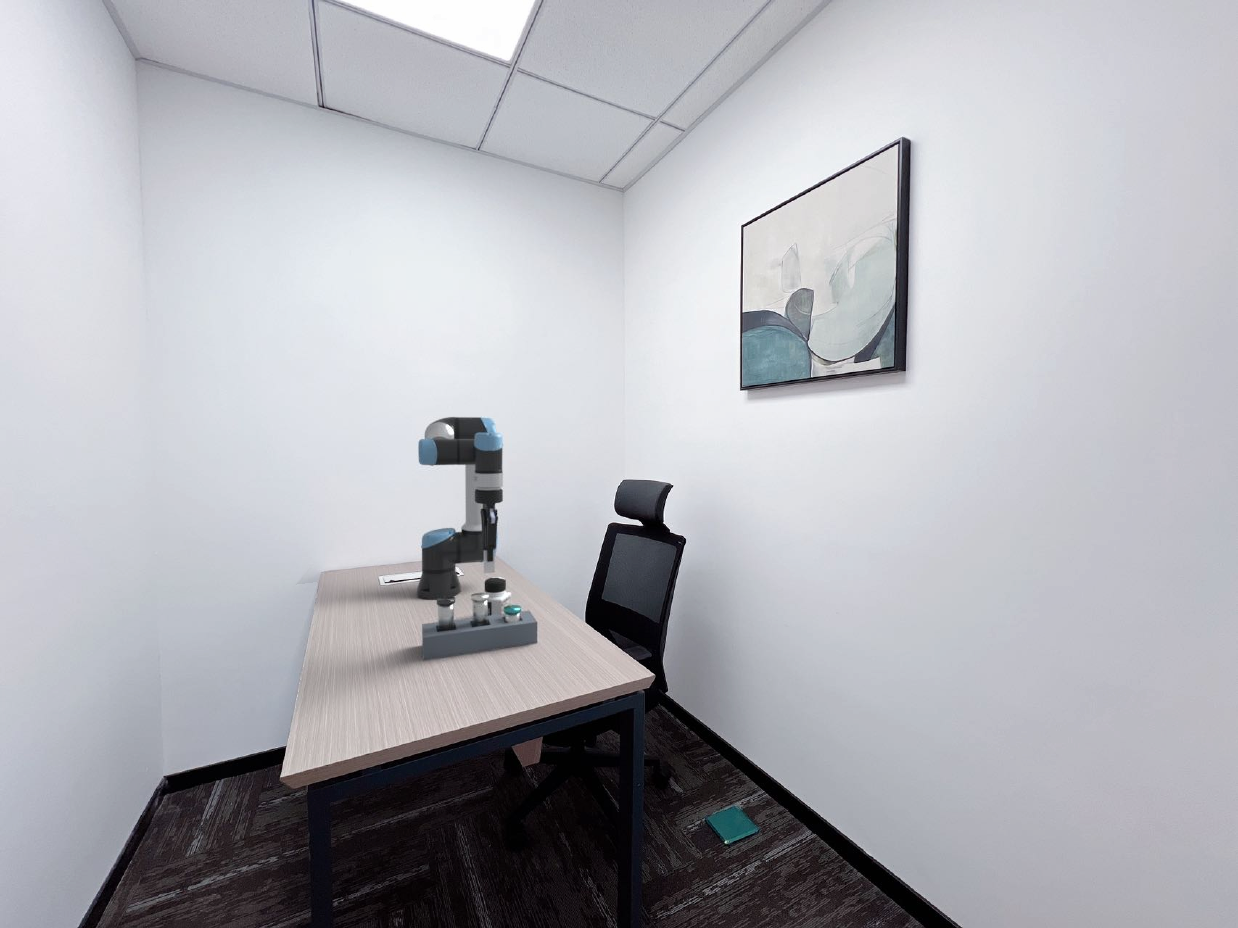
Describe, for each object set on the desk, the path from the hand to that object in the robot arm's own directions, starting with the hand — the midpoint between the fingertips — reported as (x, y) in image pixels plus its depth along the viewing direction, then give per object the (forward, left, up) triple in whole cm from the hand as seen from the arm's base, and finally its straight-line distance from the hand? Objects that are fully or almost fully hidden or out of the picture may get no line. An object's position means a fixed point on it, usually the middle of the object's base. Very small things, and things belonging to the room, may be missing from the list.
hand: (489, 572), depth 141 cm
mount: (0, -3, -20) cm, 20 cm away
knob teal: (0, +6, -19) cm, 20 cm away
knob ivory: (0, -3, -15) cm, 15 cm away
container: (-18, +4, -20) cm, 27 cm away
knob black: (0, -12, -15) cm, 19 cm away
